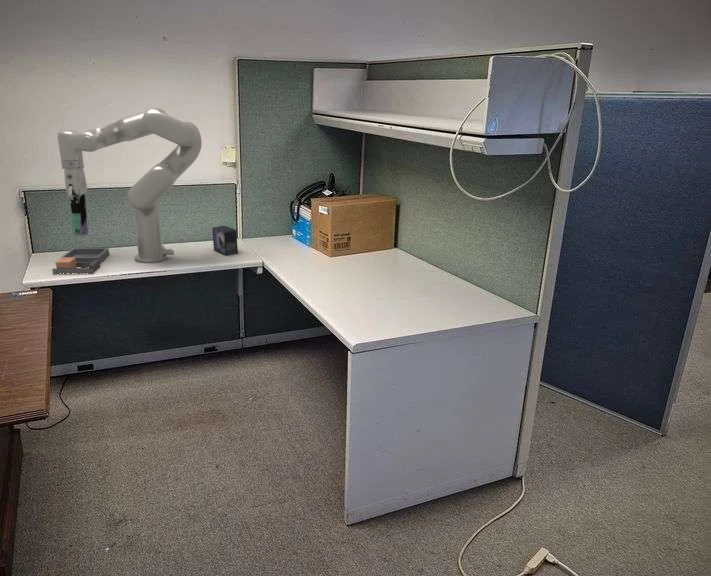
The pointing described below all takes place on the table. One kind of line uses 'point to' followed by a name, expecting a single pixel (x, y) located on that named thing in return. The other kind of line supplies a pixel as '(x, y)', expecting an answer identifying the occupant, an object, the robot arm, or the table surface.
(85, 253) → the tray
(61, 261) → the block
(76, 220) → the spray can
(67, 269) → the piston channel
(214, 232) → the small box
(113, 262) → the table surface
